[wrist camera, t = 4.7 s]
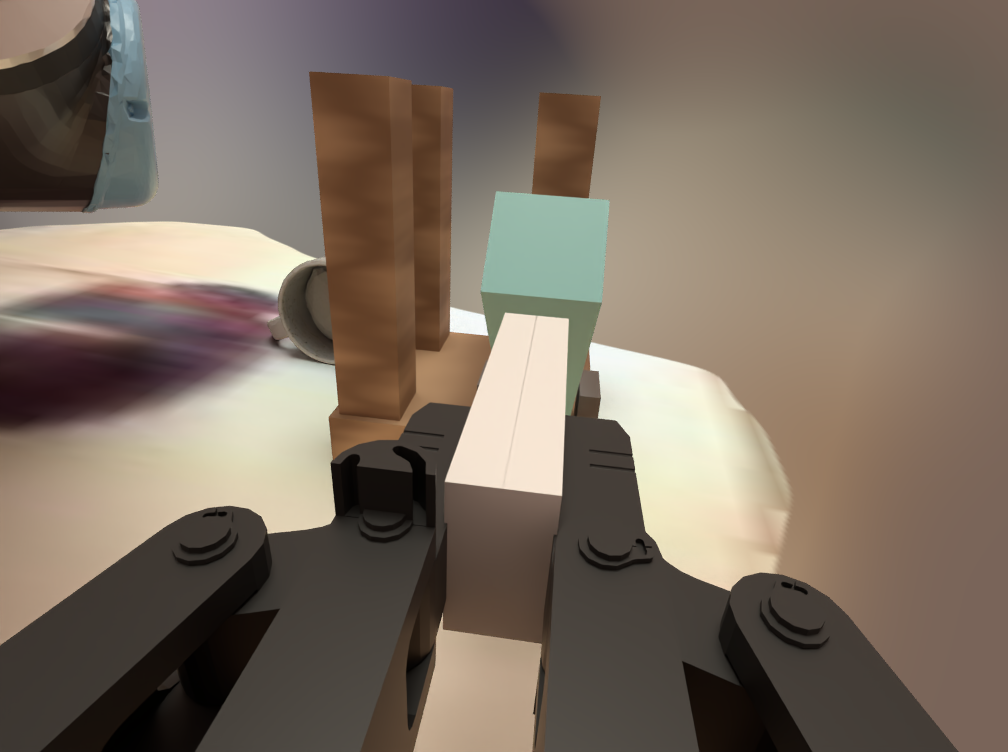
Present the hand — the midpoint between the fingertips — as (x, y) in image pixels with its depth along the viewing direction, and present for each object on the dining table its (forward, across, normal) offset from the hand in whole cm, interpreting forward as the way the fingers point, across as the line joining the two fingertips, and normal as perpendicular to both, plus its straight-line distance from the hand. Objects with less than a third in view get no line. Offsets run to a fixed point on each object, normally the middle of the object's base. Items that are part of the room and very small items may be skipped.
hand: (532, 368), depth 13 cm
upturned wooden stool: (+17, -4, -12) cm, 21 cm away
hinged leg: (+14, 0, -8) cm, 16 cm away
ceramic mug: (+27, -17, -12) cm, 34 cm away
